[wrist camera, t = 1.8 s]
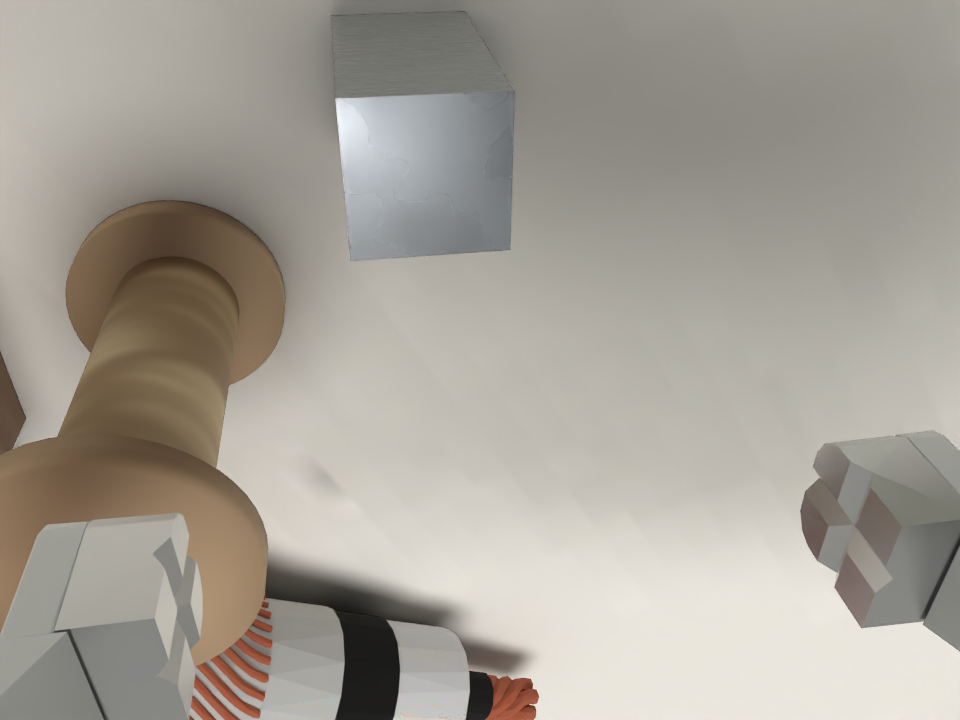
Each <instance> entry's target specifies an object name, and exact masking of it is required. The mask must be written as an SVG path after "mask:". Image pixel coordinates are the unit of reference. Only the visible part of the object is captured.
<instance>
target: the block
mask: <svg viewBox="0 0 960 720" xmlns="http://www.w3.org/2000/svg"><path fill="white" fill-rule="evenodd" d="M331 21H332V42H333V63H334V83H335V101H336V112H337V123H338V133H339V144H340V154H341V165H342V175H343V186H344V197H345V207H346V218H347V228H348V239H349V249H350V260H351V261H358V260H372V259H387V258H401V257H416V256H430V255H444V254H459V253H473V252H487V251H502V250H510V239H511V202H512V164H513V126H514V89H513V88H512V86H511V84H510V83H509V81H508V80H507V78H506V76H505V75H504V73H503V72H502V70H501V68H500V67H499V65H498V64H497V62H496V60H495V59H494V57H493V56H492V54H491V52H490V51H489V49H488V48H487V46H486V44H485V43H484V41H483V40H482V38H481V36H480V35H479V33H478V32H477V30H476V29H475V27H474V25H473V24H472V22H471V21H470V19H469V17H468V16H467V14H466V13H465V11H457V12H425V13H394V14H362V15H331Z"/></svg>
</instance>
